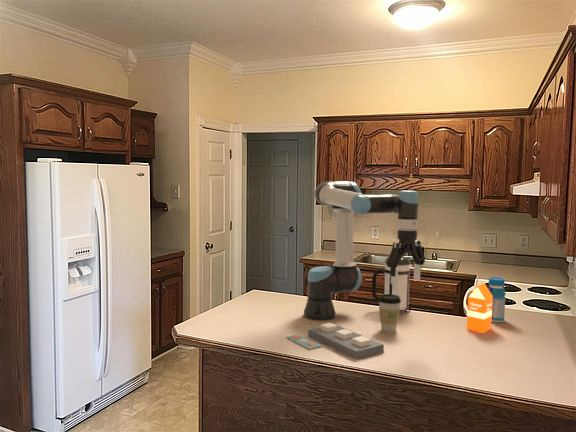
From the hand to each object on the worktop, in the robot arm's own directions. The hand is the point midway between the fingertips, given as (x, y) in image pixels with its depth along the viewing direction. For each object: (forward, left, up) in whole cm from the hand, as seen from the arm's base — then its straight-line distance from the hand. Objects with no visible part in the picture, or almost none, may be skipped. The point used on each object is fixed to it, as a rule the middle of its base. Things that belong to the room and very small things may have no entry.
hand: (405, 282), depth 192 cm
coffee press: (-36, +32, -25) cm, 55 cm away
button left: (-22, -21, -24) cm, 39 cm away
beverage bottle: (+1, +61, -25) cm, 66 cm away
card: (-22, -34, -25) cm, 48 cm away
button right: (-2, -21, -24) cm, 32 cm away
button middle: (-12, -21, -24) cm, 34 cm away
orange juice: (+5, +43, -25) cm, 50 cm away
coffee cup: (-15, +7, -25) cm, 30 cm away
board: (-12, -21, -25) cm, 35 cm away
